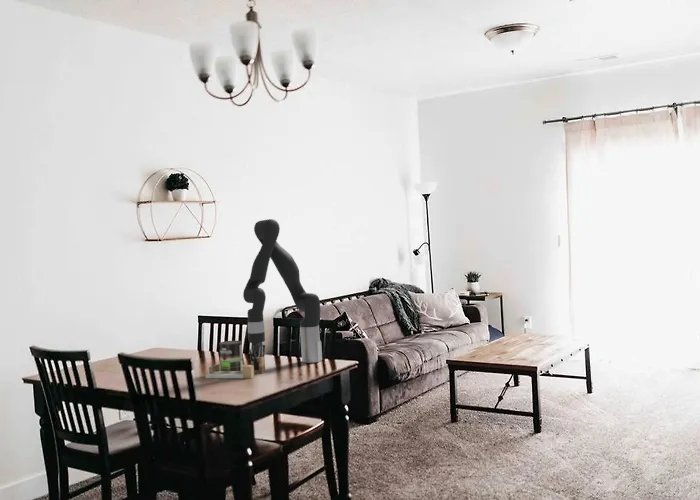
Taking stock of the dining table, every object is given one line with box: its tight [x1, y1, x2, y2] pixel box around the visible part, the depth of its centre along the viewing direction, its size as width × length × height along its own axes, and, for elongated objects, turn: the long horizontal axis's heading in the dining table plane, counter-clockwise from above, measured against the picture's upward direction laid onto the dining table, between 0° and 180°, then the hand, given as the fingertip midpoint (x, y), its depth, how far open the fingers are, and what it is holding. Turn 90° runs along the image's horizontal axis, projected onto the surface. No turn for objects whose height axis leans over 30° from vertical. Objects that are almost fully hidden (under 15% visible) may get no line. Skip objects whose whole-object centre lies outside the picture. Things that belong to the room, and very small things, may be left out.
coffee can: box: [218, 340, 244, 371], centre depth 306 cm, size 10×10×14 cm
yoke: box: [208, 356, 266, 375], centre depth 305 cm, size 23×15×7 cm, turn 75°
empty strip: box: [205, 364, 255, 379], centre depth 296 cm, size 22×4×5 cm, turn 75°
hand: (258, 369), depth 303 cm, fingers closed on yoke, 3 cm apart
